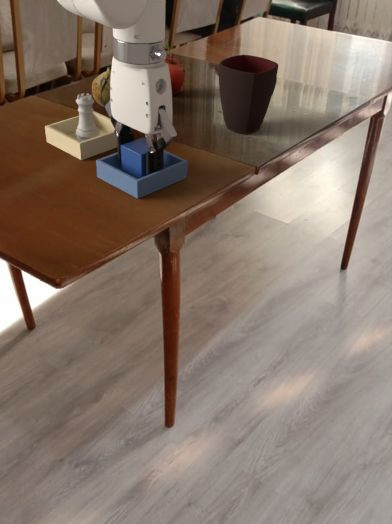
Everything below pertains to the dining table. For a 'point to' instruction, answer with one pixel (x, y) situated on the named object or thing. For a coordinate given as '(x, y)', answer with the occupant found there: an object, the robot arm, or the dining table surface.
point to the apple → (175, 72)
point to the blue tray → (113, 174)
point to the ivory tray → (66, 140)
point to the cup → (246, 91)
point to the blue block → (135, 158)
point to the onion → (102, 88)
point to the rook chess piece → (85, 118)
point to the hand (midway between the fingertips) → (140, 165)
